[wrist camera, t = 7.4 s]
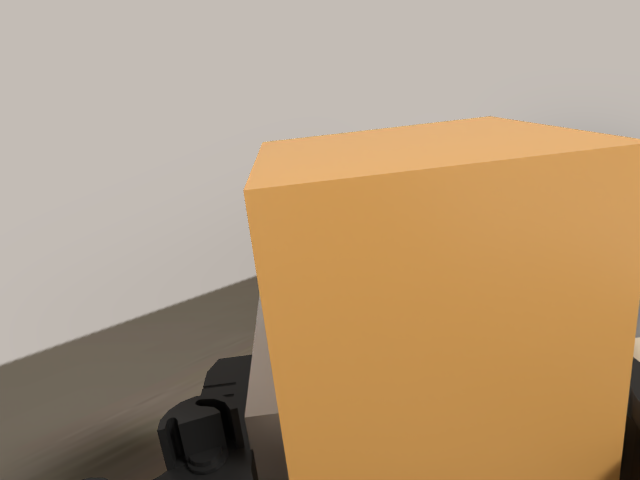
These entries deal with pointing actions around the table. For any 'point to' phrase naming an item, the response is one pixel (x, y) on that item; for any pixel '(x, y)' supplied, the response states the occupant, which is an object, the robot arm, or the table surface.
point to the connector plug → (450, 299)
